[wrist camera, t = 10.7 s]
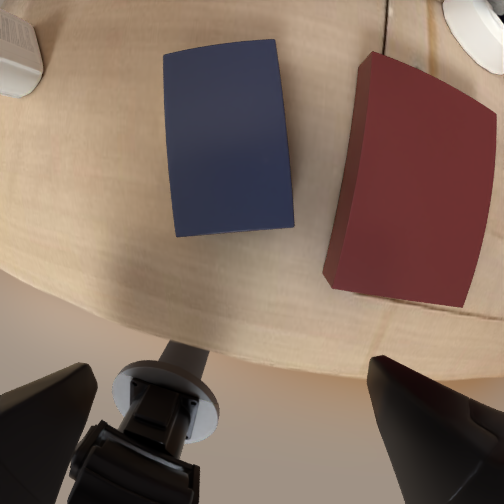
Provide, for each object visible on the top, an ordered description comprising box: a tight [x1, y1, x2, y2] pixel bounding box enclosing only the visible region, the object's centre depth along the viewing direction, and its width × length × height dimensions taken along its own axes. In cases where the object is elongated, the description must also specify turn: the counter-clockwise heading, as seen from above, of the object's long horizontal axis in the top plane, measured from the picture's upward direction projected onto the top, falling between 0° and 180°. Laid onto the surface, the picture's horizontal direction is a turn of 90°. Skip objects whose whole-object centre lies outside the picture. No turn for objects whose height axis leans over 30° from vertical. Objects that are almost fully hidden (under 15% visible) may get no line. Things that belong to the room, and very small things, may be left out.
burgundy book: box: [323, 51, 497, 308], centre depth 16 cm, size 15×11×3 cm
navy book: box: [163, 39, 295, 237], centre depth 16 cm, size 11×7×4 cm, turn 5°
